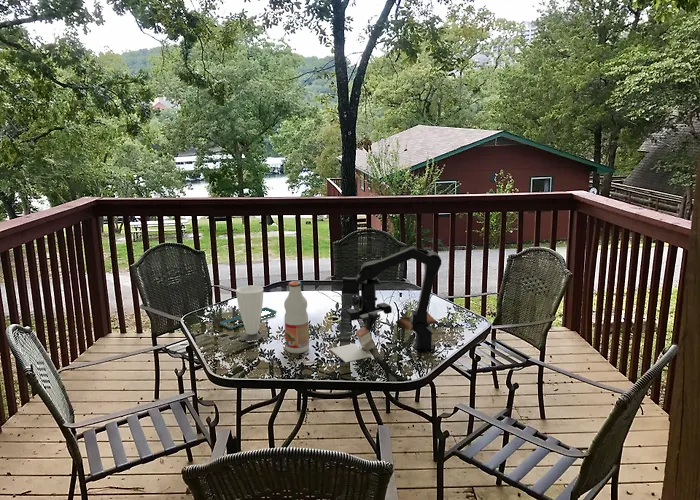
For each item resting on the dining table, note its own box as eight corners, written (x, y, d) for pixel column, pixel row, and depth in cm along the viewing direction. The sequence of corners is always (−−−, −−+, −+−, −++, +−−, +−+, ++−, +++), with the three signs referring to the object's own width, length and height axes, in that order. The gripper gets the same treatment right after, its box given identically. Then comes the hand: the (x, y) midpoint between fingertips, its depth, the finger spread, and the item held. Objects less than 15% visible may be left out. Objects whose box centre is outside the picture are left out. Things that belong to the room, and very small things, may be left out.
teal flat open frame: (230, 331, 231) (230, 326, 231) (219, 326, 237) (219, 321, 237) (277, 316, 249) (277, 311, 249) (266, 311, 255) (265, 306, 255)
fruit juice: (309, 353, 206) (307, 285, 200) (285, 354, 205) (282, 286, 199) (309, 343, 215) (306, 278, 209) (286, 345, 214) (283, 279, 208)
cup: (239, 344, 216) (236, 294, 211) (238, 334, 227) (234, 286, 222) (267, 340, 219) (265, 291, 214) (264, 331, 230) (262, 284, 225)
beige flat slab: (371, 356, 202) (371, 355, 202) (345, 362, 197) (345, 362, 197) (353, 344, 214) (353, 343, 214) (329, 349, 209) (329, 348, 209)
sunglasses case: (409, 330, 227) (404, 316, 228) (400, 334, 233) (395, 320, 234) (439, 321, 237) (434, 307, 238) (429, 325, 243) (424, 311, 244)
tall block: (374, 346, 208) (368, 329, 205) (366, 351, 207) (360, 335, 204) (369, 342, 212) (363, 326, 209) (361, 347, 210) (355, 331, 207)
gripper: (378, 285, 216) (378, 321, 219) (337, 292, 207) (338, 329, 211) (392, 292, 206) (392, 329, 210) (351, 300, 198) (351, 338, 201)
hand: (368, 331), depth 208 cm, fingers closed
